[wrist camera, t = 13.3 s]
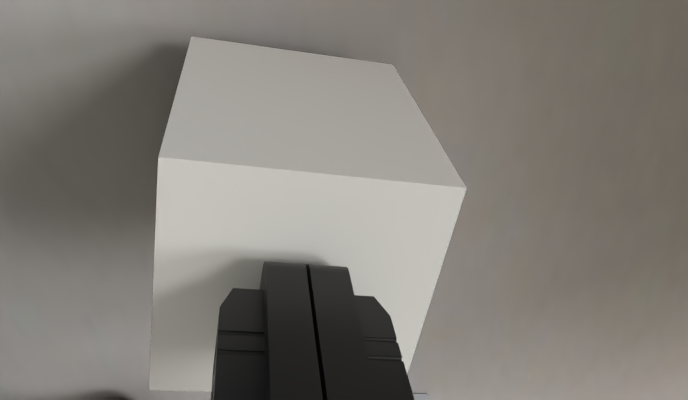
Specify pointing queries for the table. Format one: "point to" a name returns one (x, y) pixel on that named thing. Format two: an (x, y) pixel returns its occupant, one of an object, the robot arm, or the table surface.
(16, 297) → the table surface
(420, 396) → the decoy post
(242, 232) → the off-white rectangular block
